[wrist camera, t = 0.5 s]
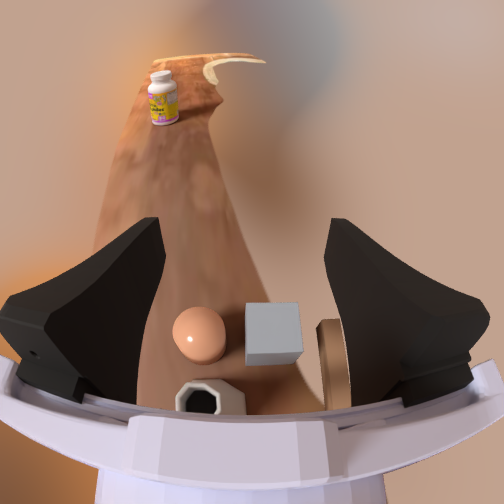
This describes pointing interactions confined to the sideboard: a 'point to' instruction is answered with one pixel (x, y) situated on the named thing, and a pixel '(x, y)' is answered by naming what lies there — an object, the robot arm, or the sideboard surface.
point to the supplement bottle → (163, 98)
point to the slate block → (272, 333)
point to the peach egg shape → (200, 335)
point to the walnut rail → (333, 365)
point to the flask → (210, 398)
